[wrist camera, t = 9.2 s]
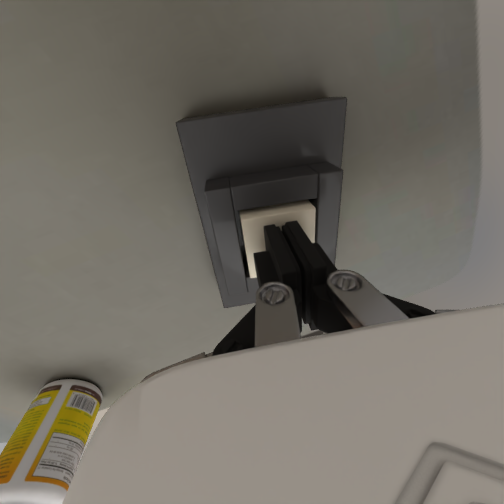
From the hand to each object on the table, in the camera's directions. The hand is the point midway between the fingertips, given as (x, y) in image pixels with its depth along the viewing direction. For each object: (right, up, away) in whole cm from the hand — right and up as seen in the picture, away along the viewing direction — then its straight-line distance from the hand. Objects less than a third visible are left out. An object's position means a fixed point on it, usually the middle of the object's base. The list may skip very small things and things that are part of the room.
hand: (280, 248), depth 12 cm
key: (0, +1, +1) cm, 2 cm away
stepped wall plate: (-1, +3, +4) cm, 5 cm away
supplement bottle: (-19, -14, +12) cm, 27 cm away
